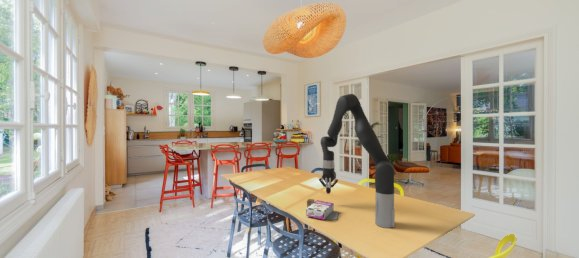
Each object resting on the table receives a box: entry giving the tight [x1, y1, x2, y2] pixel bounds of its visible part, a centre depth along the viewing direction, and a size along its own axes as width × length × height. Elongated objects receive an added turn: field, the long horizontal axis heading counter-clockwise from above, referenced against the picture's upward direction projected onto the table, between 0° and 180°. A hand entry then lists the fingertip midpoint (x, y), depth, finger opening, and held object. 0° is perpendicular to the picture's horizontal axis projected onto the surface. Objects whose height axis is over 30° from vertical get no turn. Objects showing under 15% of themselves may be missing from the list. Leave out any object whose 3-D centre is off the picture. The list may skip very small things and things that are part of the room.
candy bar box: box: [305, 200, 335, 220], centre depth 140 cm, size 11×5×16 cm
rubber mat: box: [307, 210, 340, 221], centre depth 140 cm, size 16×12×1 cm
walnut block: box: [306, 198, 315, 208], centre depth 156 cm, size 4×4×4 cm
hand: (328, 193), depth 156 cm, fingers closed
